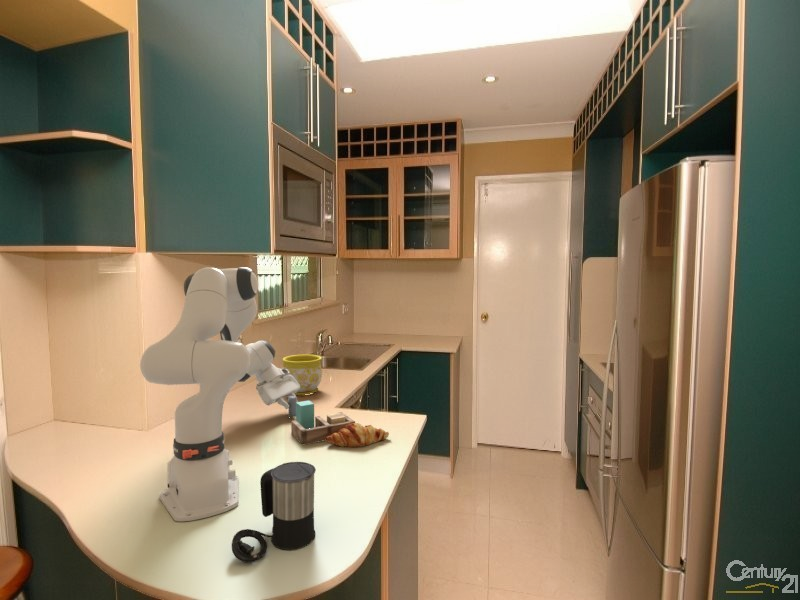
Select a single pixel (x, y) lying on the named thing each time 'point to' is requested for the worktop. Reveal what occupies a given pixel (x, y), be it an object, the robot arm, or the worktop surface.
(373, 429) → the croissant
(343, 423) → the tray
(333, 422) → the oak block
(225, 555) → the worktop surface
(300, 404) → the block
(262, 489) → the milk frother
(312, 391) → the flowerpot
